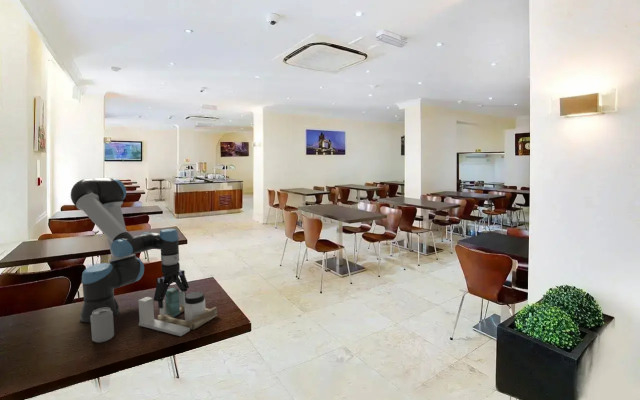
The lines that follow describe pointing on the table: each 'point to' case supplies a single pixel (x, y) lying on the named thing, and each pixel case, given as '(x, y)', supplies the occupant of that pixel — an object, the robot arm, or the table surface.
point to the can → (102, 324)
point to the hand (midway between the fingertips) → (173, 309)
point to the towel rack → (174, 310)
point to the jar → (194, 305)
